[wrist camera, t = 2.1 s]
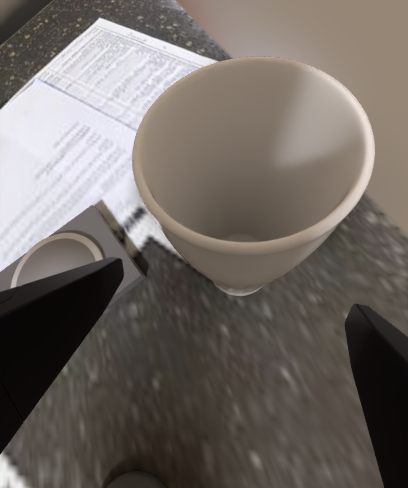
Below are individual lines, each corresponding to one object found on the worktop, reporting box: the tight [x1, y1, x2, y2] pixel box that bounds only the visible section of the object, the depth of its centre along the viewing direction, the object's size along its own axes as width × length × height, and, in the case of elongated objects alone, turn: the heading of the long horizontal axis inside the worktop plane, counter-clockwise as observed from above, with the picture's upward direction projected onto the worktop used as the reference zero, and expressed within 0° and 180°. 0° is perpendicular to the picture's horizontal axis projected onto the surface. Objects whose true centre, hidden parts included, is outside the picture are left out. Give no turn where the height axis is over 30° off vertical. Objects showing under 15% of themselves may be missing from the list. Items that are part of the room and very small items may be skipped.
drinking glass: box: [132, 56, 375, 296], centre depth 14 cm, size 7×7×15 cm
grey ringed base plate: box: [0, 205, 146, 310], centre depth 21 cm, size 12×9×2 cm
